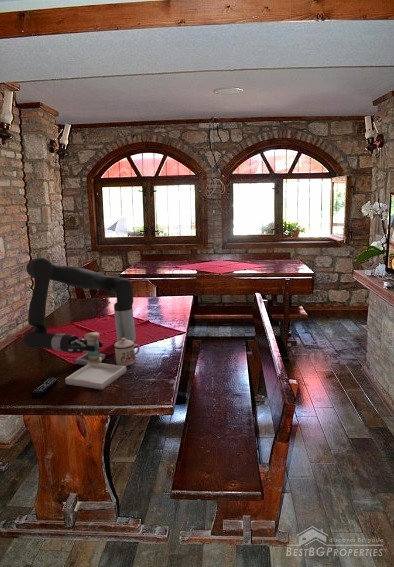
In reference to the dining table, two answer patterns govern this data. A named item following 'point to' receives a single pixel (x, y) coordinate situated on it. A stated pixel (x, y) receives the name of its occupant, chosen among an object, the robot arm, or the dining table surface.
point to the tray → (96, 375)
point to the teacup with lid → (125, 352)
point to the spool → (93, 341)
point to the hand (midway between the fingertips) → (98, 346)
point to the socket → (82, 360)
